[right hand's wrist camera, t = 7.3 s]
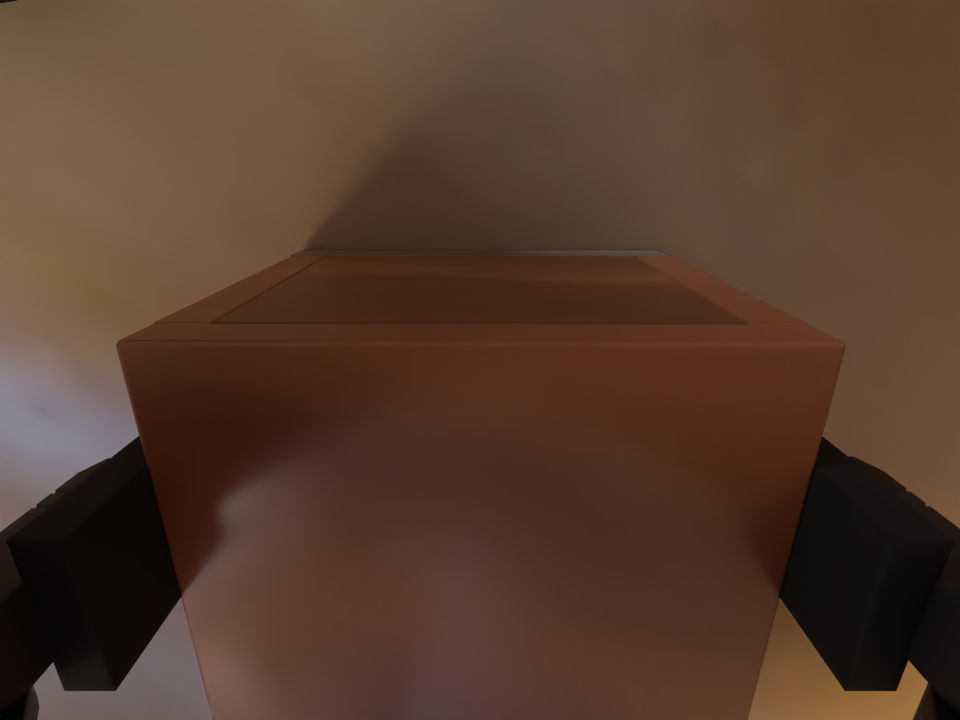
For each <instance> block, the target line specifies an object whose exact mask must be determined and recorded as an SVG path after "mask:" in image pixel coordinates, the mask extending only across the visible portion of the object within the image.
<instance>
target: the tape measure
mask: <svg viewBox="0 0 960 720" xmlns="http://www.w3.org/2000/svg"><path fill="white" fill-rule="evenodd" d="M11 1H17V0H0V3H5V2H11Z"/></svg>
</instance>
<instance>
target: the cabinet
mask: <svg viewBox="0 0 960 720" xmlns="http://www.w3.org/2000/svg"><path fill="white" fill-rule="evenodd" d="M116 347H117V351H118V355H119V359H120V363H121V367H122V370H123V374H124V378H125V382H126V386H127V390H128V393H129V397H130V401H131V405H132V409H133V413H134V417H135V420H136V424H137V428H138V432H139V436H140V440H141V444H142V447H143V451H144V455H145V459H146V463H147V467H148V471H149V474H150V478H151V482H152V486H153V490H154V494H155V497H156V501H157V505H158V509H159V513H160V517H161V521H162V524H163V528H164V532H165V536H166V540H167V544H168V548H169V551H170V555H171V559H172V563H173V567H174V571H175V575H176V578H177V582H178V586H179V590H180V594H181V598H182V602H183V605H184V609H185V613H186V617H187V621H188V625H189V628H190V632H191V636H192V640H193V644H194V648H195V652H196V655H197V659H198V663H199V667H200V671H201V675H202V679H203V682H204V686H205V690H206V694H207V698H208V702H209V706H210V709H211V713H212V717H213V720H747V719H748V716H749V712H750V708H751V704H752V700H753V697H754V693H755V689H756V685H757V681H758V678H759V674H760V670H761V666H762V662H763V659H764V655H765V651H766V647H767V643H768V640H769V636H770V632H771V628H772V624H773V621H774V617H775V613H776V609H777V605H778V602H779V598H780V594H781V590H782V586H783V583H784V579H785V575H786V571H787V567H788V563H789V560H790V556H791V552H792V548H793V544H794V541H795V537H796V533H797V529H798V525H799V522H800V518H801V514H802V510H803V506H804V503H805V499H806V495H807V491H808V487H809V484H810V480H811V476H812V472H813V468H814V465H815V461H816V457H817V453H818V449H819V446H820V442H821V438H822V434H823V430H824V427H825V423H826V419H827V415H828V411H829V408H830V404H831V400H832V396H833V392H834V389H835V385H836V381H837V377H838V373H839V370H840V366H841V362H842V358H843V354H844V351H845V344H844V342H842V341H840V340H838V339H836V338H834V337H832V336H830V335H828V334H826V333H824V332H822V331H820V330H817V329H815V328H813V327H811V326H809V325H808V324H807V323H805V322H803V321H801V320H799V319H797V318H795V317H793V316H791V315H789V314H787V313H785V312H783V311H781V310H779V309H777V308H774V307H772V306H770V305H768V304H766V303H764V302H762V301H760V300H758V299H756V298H754V297H752V296H750V295H748V294H746V293H744V292H742V291H739V290H737V289H735V288H733V287H731V286H729V285H727V284H725V283H723V282H721V281H719V280H717V279H715V278H713V277H711V276H709V275H707V274H704V273H702V272H700V271H698V270H696V269H694V268H692V267H690V266H688V265H686V264H684V263H682V262H680V261H678V260H676V259H674V258H672V257H671V256H670V255H668V254H666V253H664V252H661V251H659V250H301V251H299V252H297V253H295V254H293V255H291V257H289V258H287V259H285V260H283V261H281V262H279V263H277V264H275V265H273V266H271V267H269V268H267V269H264V270H262V271H260V272H258V273H256V274H254V275H252V276H250V277H248V278H246V279H244V280H242V281H240V282H237V283H235V284H233V285H231V286H229V287H227V288H225V289H223V290H221V291H219V292H217V293H215V294H213V295H210V296H208V297H206V298H204V299H202V300H200V301H198V302H196V303H194V304H192V305H190V306H188V307H186V308H183V309H181V310H179V311H177V312H175V313H173V314H171V315H169V316H167V317H165V318H163V319H161V320H159V321H157V322H155V323H154V324H152V325H150V326H148V327H146V328H144V329H142V330H140V331H138V332H136V333H134V334H132V335H130V336H127V337H125V338H123V339H121V340H119V341H118V342H117V345H116Z"/></svg>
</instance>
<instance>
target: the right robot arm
mask: <svg viewBox="0 0 960 720" xmlns="http://www.w3.org/2000/svg"><path fill="white" fill-rule="evenodd" d="M180 598H181V594H180V590H179V586H178V582H177V578H176V575H175V571H174V567H173V563H172V559H171V555H170V551H169V548H168V544H167V540H166V536H165V532H164V528H163V524H162V521H161V517H160V513H159V509H158V505H157V501H156V497H155V494H154V490H153V486H152V482H151V478H150V474H149V471H148V467H147V463H146V459H145V455H144V451H143V447H142V444H141V440H140V436H138V437H137V438H136V439H134V440H133V441H132V442H131V443H129V444H128V445H127V446H126V447H124V448H123V449H122V450H121V451H119V452H118V453H117V454H115V455H114V456H113V457H112V458H108V459H106V460H104V461H101V462H99V463H97V464H95V465H93V466H91V467H89V468H87V469H85V470H83V471H81V472H79V473H77V474H76V475H75V476H73V477H72V478H71V479H70V480H68V481H67V482H66V483H64V484H63V485H62V486H60V487H59V488H58V489H56V492H55V494H50V495H49V496H47V497H46V498H45V499H43V500H42V501H41V502H39V503H38V504H37V507H36V508H31V509H30V510H29V511H28V512H26V513H25V514H24V515H22V516H21V517H20V518H18V519H17V520H16V521H14V522H13V523H12V524H10V525H9V526H8V527H7V528H5V529H4V530H3V531H1V532H0V720H37V717H38V711H39V703H38V697H37V694H36V692H35V689H34V687H33V684H34V683H35V682H36V681H37V680H38V679H39V678H40V676H41V675H42V674H43V673H44V672H45V671H46V669H47V668H48V667H49V666H50V665H51V664H52V662H54V665H55V667H56V670H57V673H58V675H59V678H60V680H61V683H62V685H63V688H64V691H116V690H117V688H118V687H119V685H120V684H121V682H122V681H123V680H124V678H125V677H126V675H127V674H128V672H129V671H130V669H131V668H132V667H133V665H134V664H135V662H136V661H137V659H138V658H139V657H140V655H141V654H142V652H143V651H144V649H145V648H146V646H147V645H148V644H149V642H150V641H151V639H152V638H153V636H154V635H155V633H156V632H157V631H158V629H159V628H160V626H161V625H162V623H163V622H164V621H165V619H166V618H167V616H168V615H169V613H170V612H171V610H172V609H173V608H174V606H175V605H176V603H177V602H178V600H179V599H180ZM780 598H781V599H782V601H783V602H784V604H785V605H786V607H787V608H788V610H789V611H790V612H791V614H792V615H793V617H794V618H795V620H796V621H797V622H798V624H799V625H800V627H801V628H802V630H803V631H804V633H805V634H806V635H807V637H808V638H809V640H810V641H811V643H812V644H813V645H814V647H815V648H816V650H817V651H818V653H819V654H820V656H821V657H822V658H823V660H824V661H825V663H826V664H827V666H828V667H829V669H830V670H831V671H832V673H833V674H834V676H835V677H836V679H837V680H838V681H839V683H840V684H841V686H842V687H843V689H844V690H845V691H896V690H897V688H898V685H899V682H900V680H901V677H902V675H903V672H904V670H905V667H906V665H907V662H908V660H909V661H910V662H911V663H912V664H913V666H914V667H915V668H916V669H917V670H918V671H919V672H920V674H921V675H922V676H923V677H924V678H925V679H926V681H927V682H928V684H927V687H926V689H925V692H924V694H923V696H922V699H921V701H920V704H919V706H918V708H917V711H916V713H915V716H914V718H913V720H960V529H959V528H958V527H957V526H955V525H954V524H953V523H951V522H950V521H949V520H947V519H946V518H945V517H943V516H942V515H941V514H939V513H938V512H937V511H935V510H934V509H933V508H931V507H930V506H925V502H923V501H922V500H921V499H919V498H918V497H917V496H916V495H914V494H913V493H912V492H907V491H906V488H905V487H904V486H902V485H901V484H900V483H898V482H897V481H896V480H894V479H893V478H892V477H890V476H889V475H888V474H886V473H885V472H884V471H882V470H880V469H878V468H876V467H874V466H872V465H870V464H868V463H866V462H863V461H861V460H859V459H857V458H855V457H848V456H847V455H845V454H844V453H843V452H841V451H840V450H839V449H838V448H836V447H835V446H834V445H833V444H831V443H830V442H829V441H828V440H826V439H825V438H824V437H822V438H821V442H820V446H819V449H818V453H817V457H816V461H815V465H814V468H813V472H812V476H811V480H810V484H809V487H808V491H807V495H806V499H805V503H804V506H803V510H802V514H801V518H800V522H799V525H798V529H797V533H796V537H795V541H794V544H793V548H792V552H791V556H790V560H789V563H788V567H787V571H786V575H785V579H784V583H783V586H782V590H781V594H780Z"/></svg>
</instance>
